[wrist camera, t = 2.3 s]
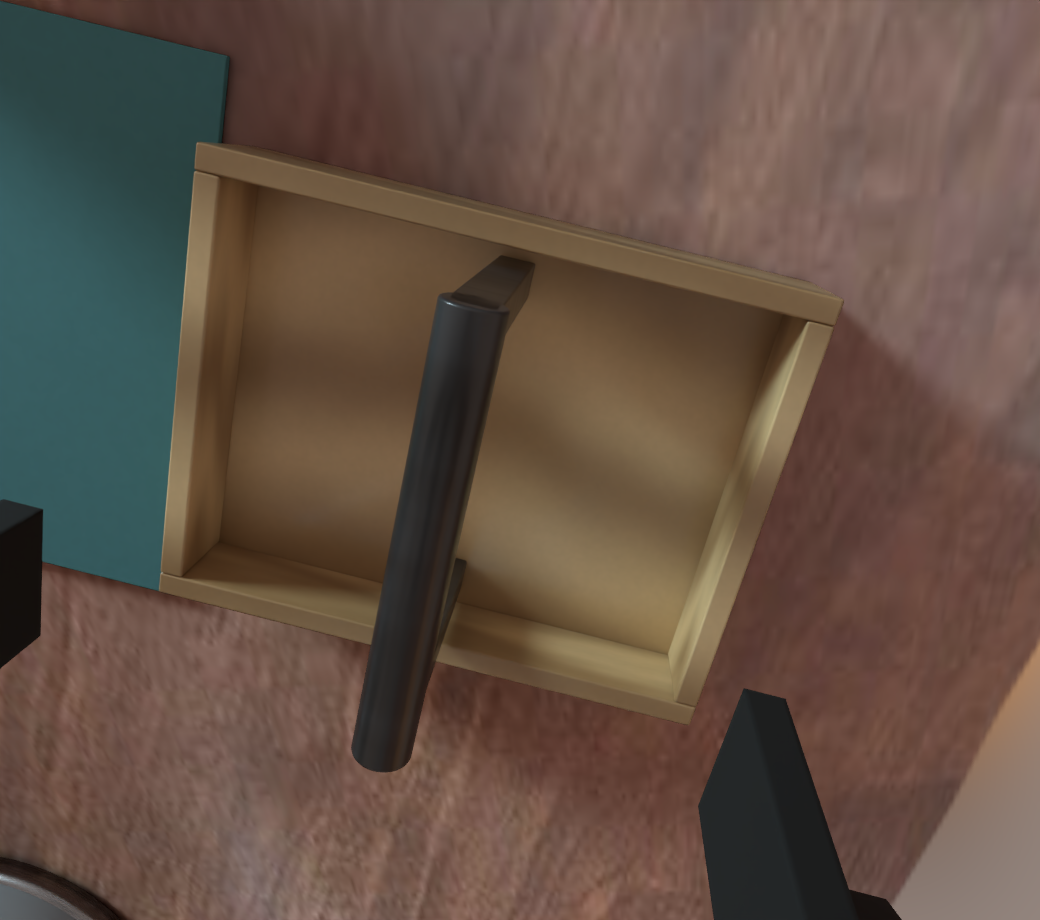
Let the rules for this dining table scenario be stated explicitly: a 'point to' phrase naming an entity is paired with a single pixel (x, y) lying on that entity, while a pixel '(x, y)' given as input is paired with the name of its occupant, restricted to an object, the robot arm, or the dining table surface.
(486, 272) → the tray
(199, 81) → the mat
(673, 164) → the dining table surface
